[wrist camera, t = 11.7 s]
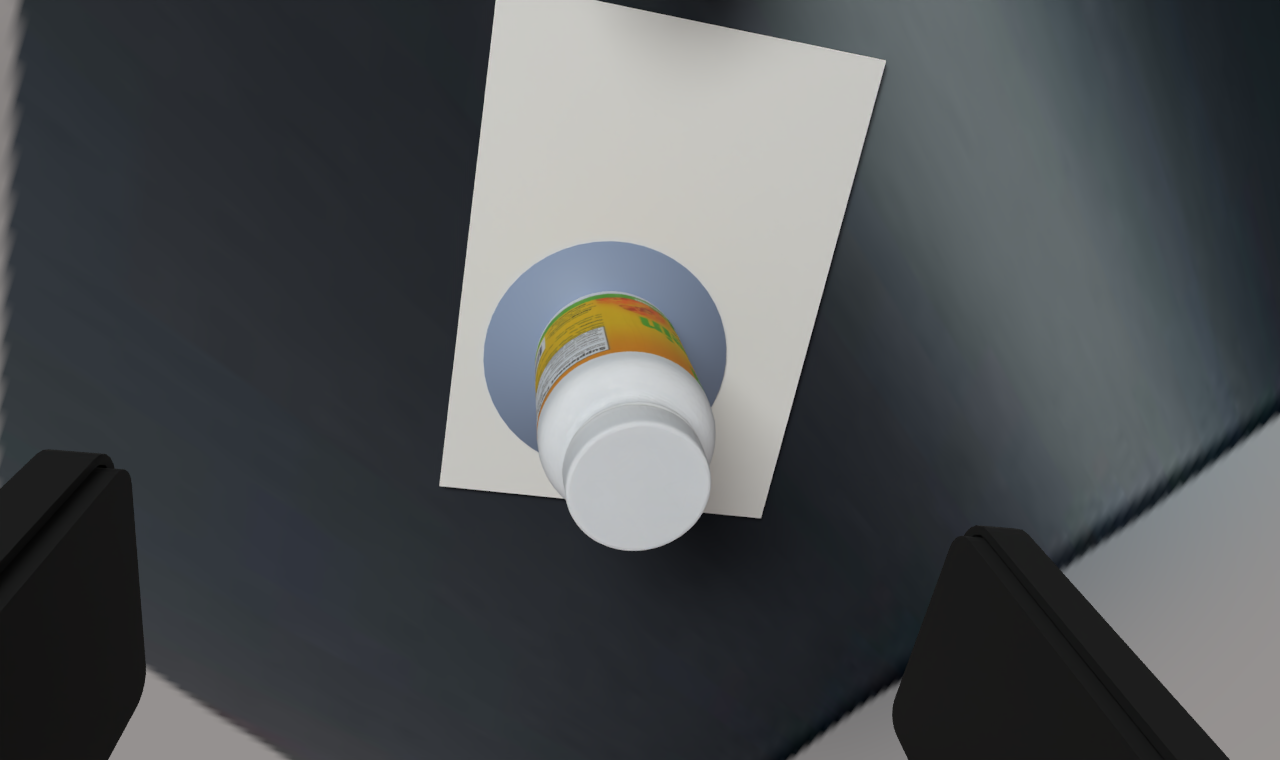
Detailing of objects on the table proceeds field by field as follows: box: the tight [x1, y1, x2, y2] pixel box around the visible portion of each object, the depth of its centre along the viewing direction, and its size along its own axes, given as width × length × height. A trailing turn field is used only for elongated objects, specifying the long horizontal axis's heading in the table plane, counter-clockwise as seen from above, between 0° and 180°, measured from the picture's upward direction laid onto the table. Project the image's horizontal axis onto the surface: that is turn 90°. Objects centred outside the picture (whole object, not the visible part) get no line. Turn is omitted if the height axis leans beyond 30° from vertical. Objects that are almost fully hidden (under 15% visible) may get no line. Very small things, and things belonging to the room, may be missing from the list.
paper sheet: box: [439, 0, 886, 518], centre depth 32 cm, size 18×13×1 cm
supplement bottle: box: [535, 291, 716, 551], centre depth 28 cm, size 5×5×10 cm
